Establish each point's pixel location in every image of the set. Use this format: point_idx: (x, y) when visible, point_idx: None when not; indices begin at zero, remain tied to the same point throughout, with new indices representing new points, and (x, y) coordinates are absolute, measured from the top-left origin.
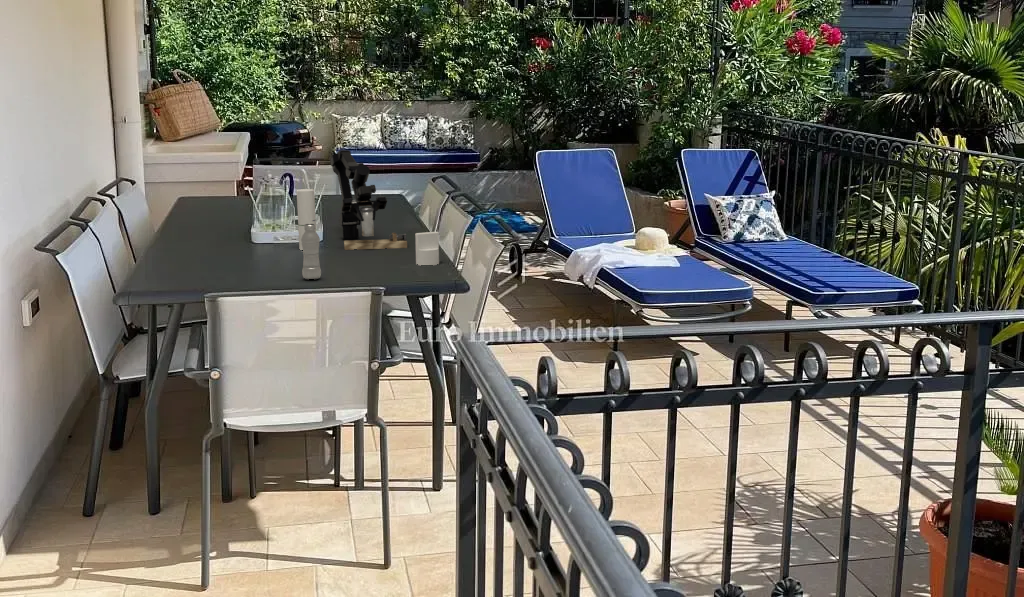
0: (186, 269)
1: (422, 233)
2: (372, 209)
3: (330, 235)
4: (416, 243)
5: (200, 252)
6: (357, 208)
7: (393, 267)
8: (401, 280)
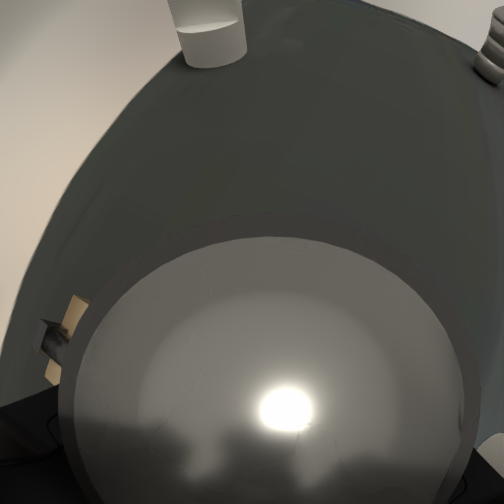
0: None
1: None
2: (163, 258)
3: None
4: (240, 2)
5: None
6: (484, 500)
7: (318, 49)
8: (337, 6)
